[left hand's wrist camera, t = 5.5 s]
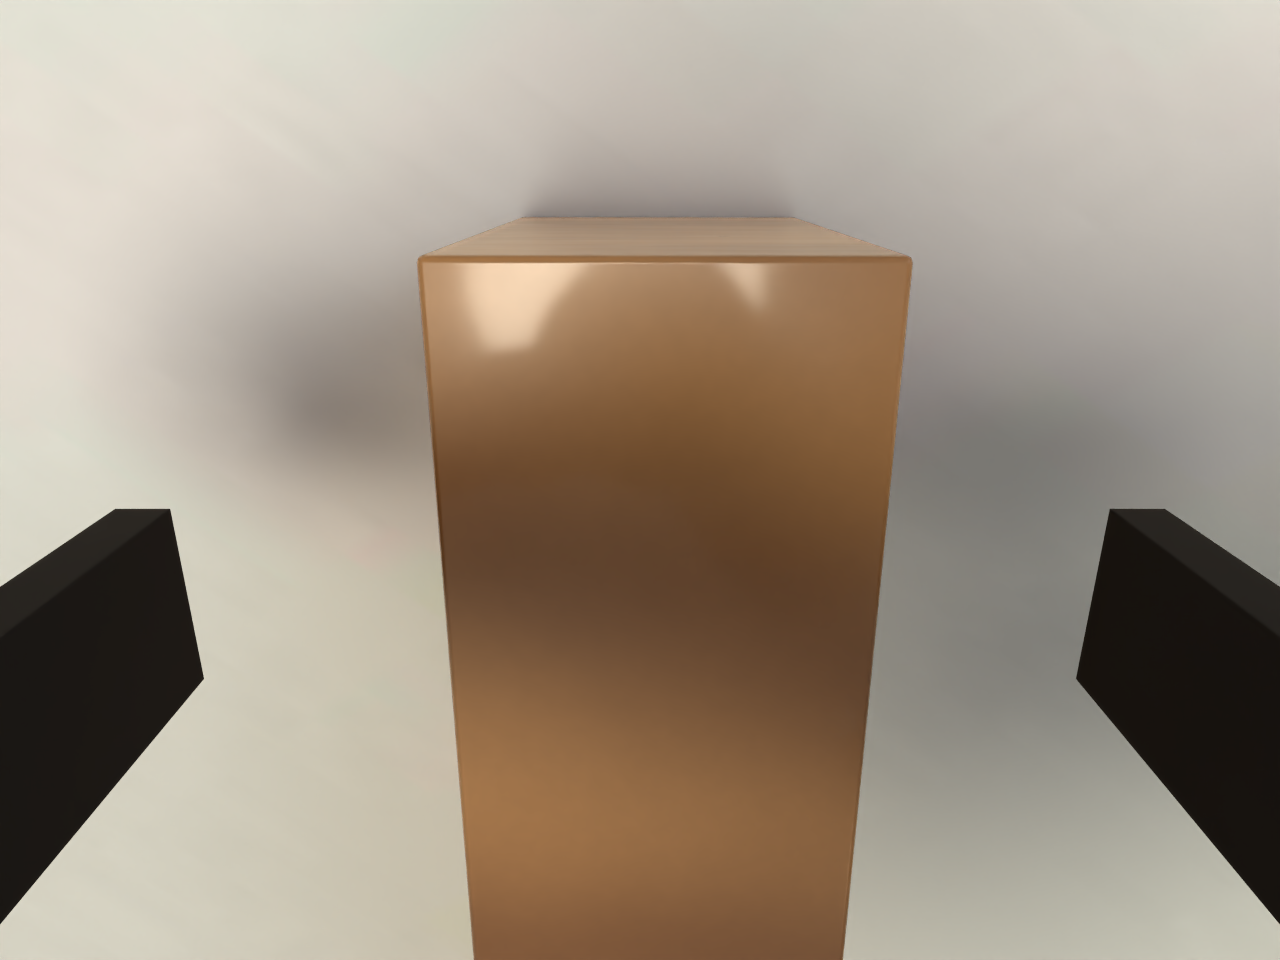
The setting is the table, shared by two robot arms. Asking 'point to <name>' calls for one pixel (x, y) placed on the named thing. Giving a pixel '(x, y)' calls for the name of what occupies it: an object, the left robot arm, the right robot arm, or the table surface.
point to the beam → (661, 574)
